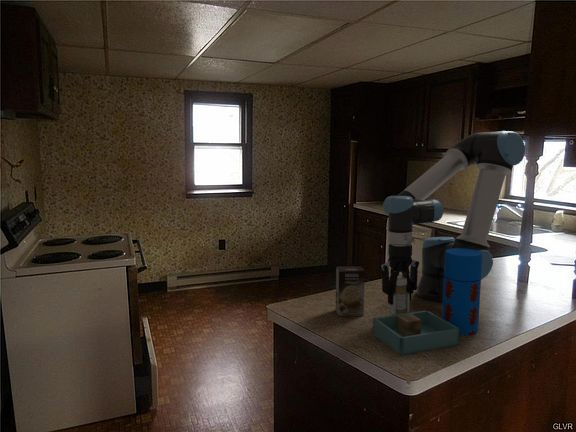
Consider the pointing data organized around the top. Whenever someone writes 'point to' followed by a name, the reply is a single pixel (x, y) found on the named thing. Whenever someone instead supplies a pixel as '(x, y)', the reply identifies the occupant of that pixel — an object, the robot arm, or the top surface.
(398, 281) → the sprinkles bottle
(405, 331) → the walnut cube
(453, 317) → the thermos
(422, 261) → the robot arm
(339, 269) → the coffee box
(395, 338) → the tote
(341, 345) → the top surface
